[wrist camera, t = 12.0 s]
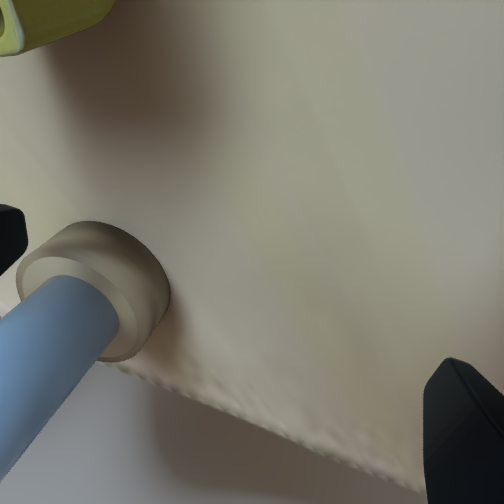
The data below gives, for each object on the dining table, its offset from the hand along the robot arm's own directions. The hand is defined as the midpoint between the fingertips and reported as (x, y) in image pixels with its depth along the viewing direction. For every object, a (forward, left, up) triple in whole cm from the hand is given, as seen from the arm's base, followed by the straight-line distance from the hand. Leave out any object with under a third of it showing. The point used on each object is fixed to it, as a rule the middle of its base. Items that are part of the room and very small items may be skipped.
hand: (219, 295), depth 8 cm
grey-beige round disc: (+10, +14, -13) cm, 22 cm away
